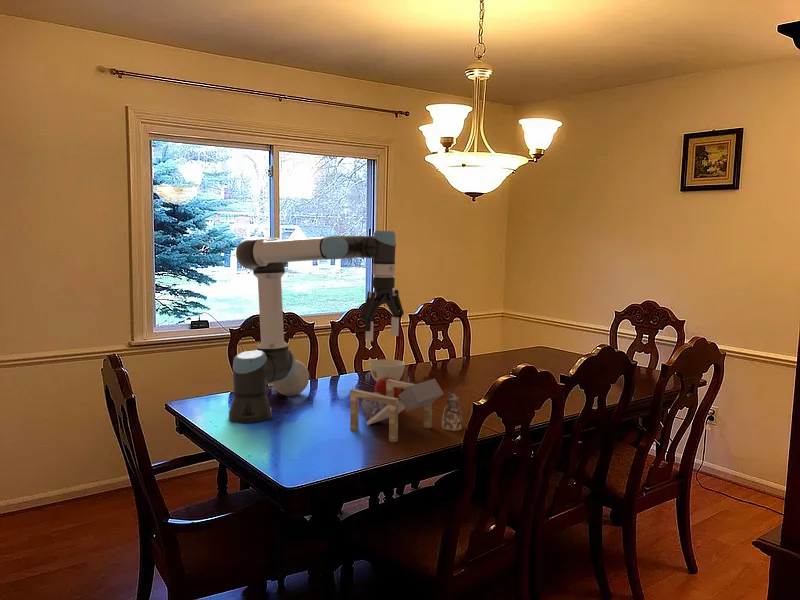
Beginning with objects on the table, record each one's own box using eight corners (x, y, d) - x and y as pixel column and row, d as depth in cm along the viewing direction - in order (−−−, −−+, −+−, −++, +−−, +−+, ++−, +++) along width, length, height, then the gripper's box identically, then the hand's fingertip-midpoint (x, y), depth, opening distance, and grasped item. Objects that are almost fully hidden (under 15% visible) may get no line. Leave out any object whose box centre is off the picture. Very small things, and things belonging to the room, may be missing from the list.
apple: (406, 410, 236) (406, 374, 234) (387, 416, 228) (388, 379, 227) (387, 405, 243) (387, 370, 241) (368, 410, 235) (368, 374, 234)
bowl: (410, 388, 270) (410, 365, 269) (375, 391, 264) (376, 368, 263) (397, 379, 285) (397, 358, 284) (363, 382, 279) (364, 360, 278)
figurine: (445, 431, 212) (446, 396, 211) (438, 424, 219) (439, 391, 217) (465, 429, 214) (466, 395, 213) (457, 423, 221) (458, 390, 219)
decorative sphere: (298, 401, 246) (298, 364, 244) (265, 397, 251) (264, 361, 249) (315, 392, 260) (315, 357, 259) (283, 389, 265) (283, 354, 263)
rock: (394, 405, 225) (368, 401, 228) (389, 390, 217) (362, 386, 220) (386, 431, 219) (359, 427, 222) (380, 418, 211) (353, 413, 214)
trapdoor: (416, 403, 196) (407, 386, 197) (373, 437, 208) (365, 421, 210) (446, 393, 208) (436, 377, 210) (403, 425, 221) (395, 410, 223)
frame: (393, 442, 200) (394, 399, 198) (350, 430, 211) (350, 390, 210) (431, 427, 216) (432, 387, 215) (389, 416, 228) (389, 379, 226)
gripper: (367, 278, 199) (366, 344, 201) (414, 275, 218) (412, 335, 221) (350, 277, 203) (349, 341, 206) (397, 274, 223) (396, 332, 225)
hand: (382, 338), depth 213 cm, fingers open, 13 cm apart
